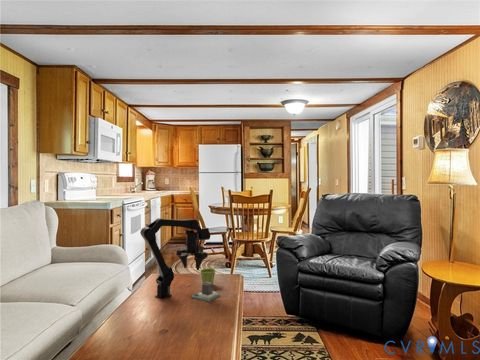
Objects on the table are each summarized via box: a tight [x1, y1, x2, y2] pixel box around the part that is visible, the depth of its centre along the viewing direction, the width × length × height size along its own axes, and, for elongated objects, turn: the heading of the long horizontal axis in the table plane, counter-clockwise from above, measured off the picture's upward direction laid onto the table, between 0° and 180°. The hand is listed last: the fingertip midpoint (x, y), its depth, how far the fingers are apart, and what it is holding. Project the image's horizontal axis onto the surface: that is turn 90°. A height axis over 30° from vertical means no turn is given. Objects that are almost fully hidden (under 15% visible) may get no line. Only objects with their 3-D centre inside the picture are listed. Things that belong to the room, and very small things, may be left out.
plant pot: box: [199, 268, 217, 285], centre depth 207 cm, size 9×9×9 cm
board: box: [191, 290, 220, 302], centre depth 187 cm, size 10×11×2 cm
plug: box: [201, 282, 214, 295], centre depth 186 cm, size 4×4×6 cm
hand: (191, 269), depth 196 cm, fingers open, 9 cm apart
